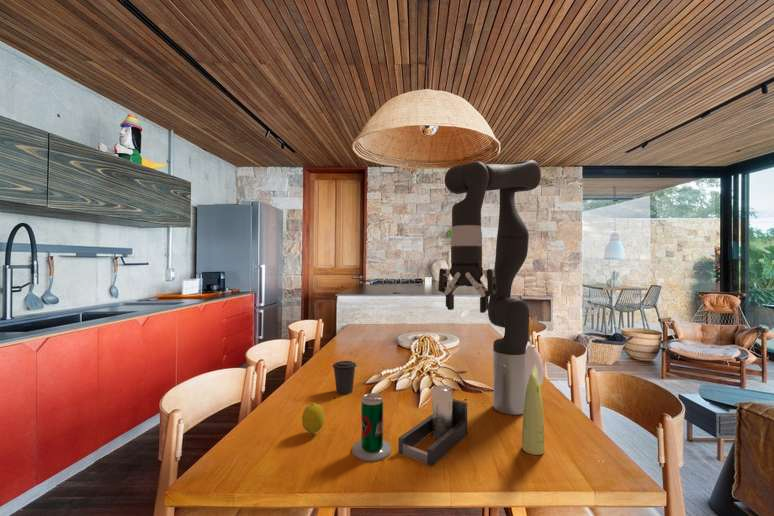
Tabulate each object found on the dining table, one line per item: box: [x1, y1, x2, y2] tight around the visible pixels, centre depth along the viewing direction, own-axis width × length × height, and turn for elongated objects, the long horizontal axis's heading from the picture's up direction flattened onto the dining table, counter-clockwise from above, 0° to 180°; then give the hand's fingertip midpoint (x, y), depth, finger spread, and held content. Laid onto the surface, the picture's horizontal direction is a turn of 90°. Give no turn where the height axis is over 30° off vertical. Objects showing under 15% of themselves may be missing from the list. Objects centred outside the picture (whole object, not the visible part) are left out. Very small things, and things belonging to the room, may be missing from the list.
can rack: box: [397, 398, 468, 467], centre depth 86 cm, size 18×9×8 cm, turn 143°
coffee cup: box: [332, 360, 357, 396], centre depth 120 cm, size 8×8×10 cm
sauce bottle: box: [526, 337, 545, 389], centre depth 121 cm, size 8×8×18 cm
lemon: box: [301, 402, 325, 435], centre depth 91 cm, size 6×6×8 cm
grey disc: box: [351, 439, 392, 462], centre depth 83 cm, size 9×9×1 cm
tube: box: [521, 363, 545, 456], centre depth 83 cm, size 6×5×20 cm
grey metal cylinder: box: [432, 384, 454, 441], centre depth 89 cm, size 5×5×12 cm
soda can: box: [360, 392, 384, 452], centre depth 83 cm, size 5×5×12 cm
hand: (466, 310), depth 87 cm, fingers open, 8 cm apart
